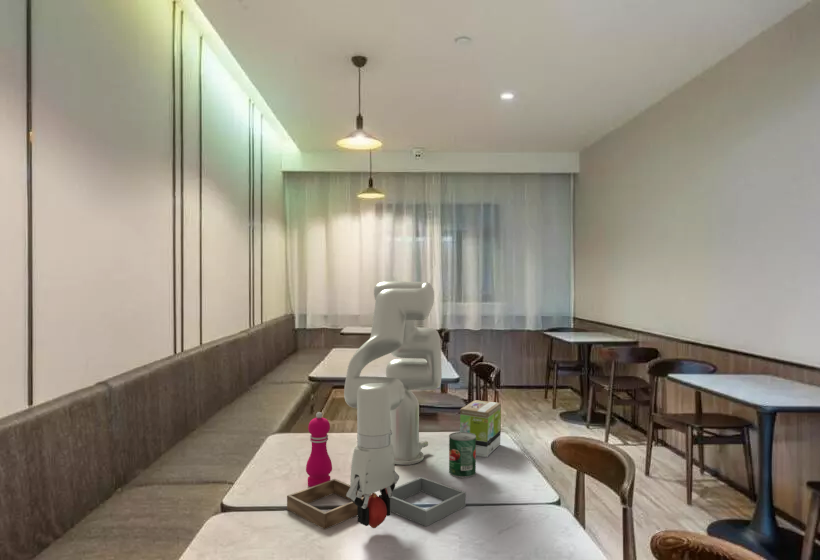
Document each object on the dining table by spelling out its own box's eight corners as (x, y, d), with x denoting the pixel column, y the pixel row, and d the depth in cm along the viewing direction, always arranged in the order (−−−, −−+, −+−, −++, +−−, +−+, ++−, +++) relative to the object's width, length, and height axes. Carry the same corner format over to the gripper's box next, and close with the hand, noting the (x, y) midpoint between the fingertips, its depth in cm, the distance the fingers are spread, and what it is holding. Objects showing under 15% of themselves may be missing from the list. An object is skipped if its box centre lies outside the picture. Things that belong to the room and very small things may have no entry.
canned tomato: (443, 472, 158) (443, 435, 158) (461, 466, 163) (461, 430, 163) (462, 480, 152) (463, 441, 152) (481, 473, 157) (481, 436, 157)
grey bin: (421, 489, 145) (421, 476, 145) (465, 506, 135) (465, 492, 135) (381, 507, 134) (381, 493, 134) (426, 526, 124) (426, 511, 124)
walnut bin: (334, 491, 144) (334, 478, 144) (372, 508, 134) (372, 494, 133) (287, 509, 133) (287, 495, 133) (324, 529, 123) (324, 514, 123)
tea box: (488, 458, 170) (488, 411, 170) (458, 453, 175) (458, 408, 174) (501, 444, 184) (501, 401, 184) (473, 440, 188) (473, 398, 188)
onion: (361, 522, 124) (361, 487, 124) (386, 521, 124) (386, 486, 124) (361, 534, 118) (361, 498, 118) (387, 533, 118) (387, 497, 118)
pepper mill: (326, 489, 145) (326, 416, 145) (301, 487, 146) (301, 414, 146) (335, 479, 152) (335, 409, 152) (311, 477, 154) (311, 408, 153)
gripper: (389, 427, 130) (389, 502, 130) (333, 444, 117) (333, 526, 117) (412, 434, 124) (412, 511, 125) (356, 452, 112) (356, 538, 112)
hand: (373, 518), depth 121 cm, fingers closed on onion, 5 cm apart
